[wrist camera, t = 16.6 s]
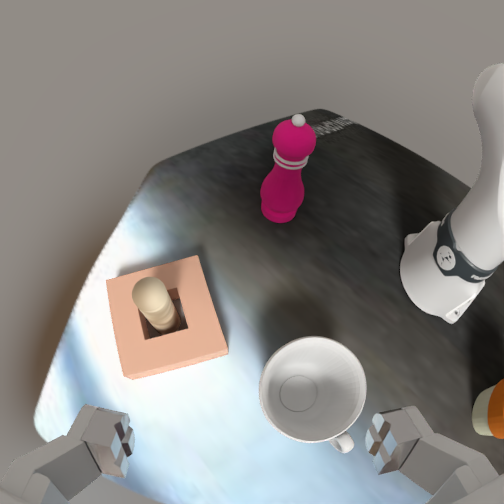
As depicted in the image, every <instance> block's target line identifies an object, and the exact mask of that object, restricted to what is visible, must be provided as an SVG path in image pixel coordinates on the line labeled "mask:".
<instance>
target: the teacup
mask: <svg viewBox="0 0 504 504" xmlns="http://www.w3.org/2000/svg"><path fill="white" fill-rule="evenodd" d="M365 398H366V378H365V374H364V371H363V368H362V366H361V364H360V362H359V360H358V359H357V357H356V356H355V355H354V354H353V353H352V351H351V350H349V349H348V348H347V347H346V346H344V345H343V344H341V343H339V342H337V341H335V340H333V339H330V338H326V337H321V336H307V337H302V338H298V339H295V340H293V341H291V342H289V343H287V344H285V345H284V346H282V347H281V348H279V349H278V350H277V351H276V352H275V353H274V354H273V355H272V356H271V357H270V359H269V360H268V361H267V363H266V365H265V367H264V369H263V371H262V374H261V378H260V382H259V399H260V405H261V408H262V411H263V413H264V415H265V417H266V419H267V420H268V421H269V423H270V424H271V425H272V426H273V427H274V428H275V429H276V430H277V431H278V432H280V433H281V434H283V435H284V436H286V437H288V438H290V439H293V440H296V441H299V442H305V443H317V442H323V441H327V440H328V441H329V442H330V443H331V444H332V445H333V446H334V447H335V449H336V450H338V451H339V452H341V453H347V452H349V451H350V450H352V448H353V447H354V442H353V439H352V438H351V436H350V435H349V433H348V432H346V430H347V429H348V428H349V427H350V426H351V425H352V424H353V423H354V422H355V421H356V419H357V418H358V416H359V415H360V413H361V411H362V408H363V406H364V402H365Z"/></svg>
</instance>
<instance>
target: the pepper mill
mask: <svg viewBox="0 0 504 504" xmlns="http://www.w3.org/2000/svg"><path fill="white" fill-rule="evenodd" d="M272 141H273V144H274V147H275V148H274V153H273V158H274V160H275V165H274V168H273V169H272V171H271V172H270V173H269V174H268V175H267V177H266V178H265V180H264V181H263V183H262V186H261V190H260V195H261V198H262V203H261V210H262V213H263V215H264V216H265V217H266V218H267V219H269V220H270V221H272V222H276V223H285V222H288V221H290V220H292V219H293V218H294V216H295V214H296V211H297V208H298V207H299V206H300V205H301V204H302V202H303V198H304V186H303V183H302V180H301V170H302V168H303V167H304V166H305V165H306V163H307V159H308V155H310V154H311V153H312V152H313V150H314V148H315V145H316V135H315V133H314V131H313V129H312V128H311V127H310V126H309V125H308V124H307V123H305V118H304V116H302V115H301V114H296V115H294V116H293V117H292V119H291V120H285V121H283V122H281V123H280V124H279V125H278V126H277V127H276V128H275V130H274V133H273V140H272Z"/></svg>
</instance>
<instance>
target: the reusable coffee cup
mask: <svg viewBox="0 0 504 504" xmlns="http://www.w3.org/2000/svg"><path fill="white" fill-rule="evenodd" d="M472 423H473V427H474V429H475V431H476V432H477V433H479V434H481V435H490V436H495V437H496V438H500V439H504V379H502V380H501V381H499V383H498V384H497V385H495V386H492V387H490V388H488V389H486V390H484V391H482V392H481V393H480V394H479V396H478V397H477V399H476V401H475V403H474V406H473V410H472Z"/></svg>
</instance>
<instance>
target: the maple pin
mask: <svg viewBox="0 0 504 504" xmlns="http://www.w3.org/2000/svg"><path fill="white" fill-rule="evenodd" d="M132 299H133V302H134V303H135V305H136V306H137V307H138V308H139V310H140V311H141V312H142V313H143V315H144V316H145V317H146V318H147V319H148V321H149V322H150V323H151V324H152V326H153V327H154V328H155V329H156V330H157V331H158V332H159V333H160V334H163V335H166V334H170V333H173V332H176V331H177V330H178V329H179V327H180V323H181V320H180V316H179V314H178V312H177V310H176V308H175V306H174V304H173V302H172V300H171V298H170V296H169V294H168V292H167V290H166V287H165V285H164V284H163V282H162V281H161V280H159V279H158V278H155V277H145V278H142V279H141V280H139V281H138V282H137V283H136V284H135V286H134V287H133V290H132Z"/></svg>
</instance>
